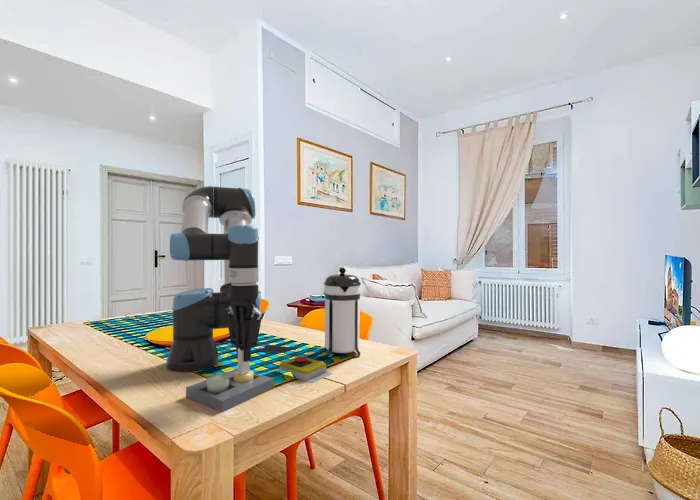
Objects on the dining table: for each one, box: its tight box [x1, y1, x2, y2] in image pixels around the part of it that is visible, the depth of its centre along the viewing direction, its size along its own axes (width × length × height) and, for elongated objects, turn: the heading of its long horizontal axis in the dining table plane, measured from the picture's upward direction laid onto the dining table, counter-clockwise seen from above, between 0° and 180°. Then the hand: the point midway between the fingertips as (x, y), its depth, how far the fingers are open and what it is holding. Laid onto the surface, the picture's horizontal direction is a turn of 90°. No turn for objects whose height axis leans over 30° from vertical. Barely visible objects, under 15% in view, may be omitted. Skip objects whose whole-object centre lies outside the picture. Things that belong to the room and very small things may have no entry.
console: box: [185, 368, 275, 412], centre depth 91 cm, size 14×16×2 cm
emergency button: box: [278, 356, 333, 384], centre depth 105 cm, size 9×4×15 cm
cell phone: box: [255, 344, 299, 354], centre depth 127 cm, size 7×14×1 cm, turn 71°
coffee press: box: [323, 266, 361, 358], centre depth 126 cm, size 17×16×30 cm
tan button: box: [234, 370, 254, 384], centre depth 94 cm, size 5×5×3 cm
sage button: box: [206, 373, 229, 394], centre depth 88 cm, size 5×5×3 cm
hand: (243, 372), depth 94 cm, fingers closed
